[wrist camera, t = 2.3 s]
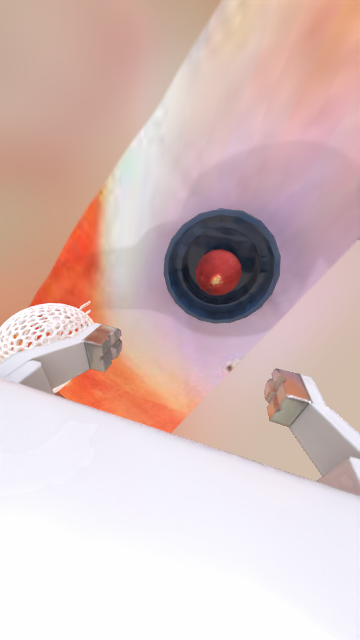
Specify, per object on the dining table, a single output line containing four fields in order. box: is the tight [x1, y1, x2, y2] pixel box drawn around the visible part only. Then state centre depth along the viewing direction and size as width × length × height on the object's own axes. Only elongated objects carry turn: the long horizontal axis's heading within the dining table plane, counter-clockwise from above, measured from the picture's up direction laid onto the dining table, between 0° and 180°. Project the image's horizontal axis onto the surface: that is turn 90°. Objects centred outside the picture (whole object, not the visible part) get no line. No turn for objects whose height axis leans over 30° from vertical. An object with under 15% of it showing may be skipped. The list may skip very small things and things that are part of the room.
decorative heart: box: [0, 301, 94, 393], centre depth 32 cm, size 18×11×17 cm, turn 158°
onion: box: [196, 249, 241, 296], centre depth 23 cm, size 6×6×8 cm
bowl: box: [164, 208, 280, 323], centre depth 25 cm, size 14×14×5 cm
